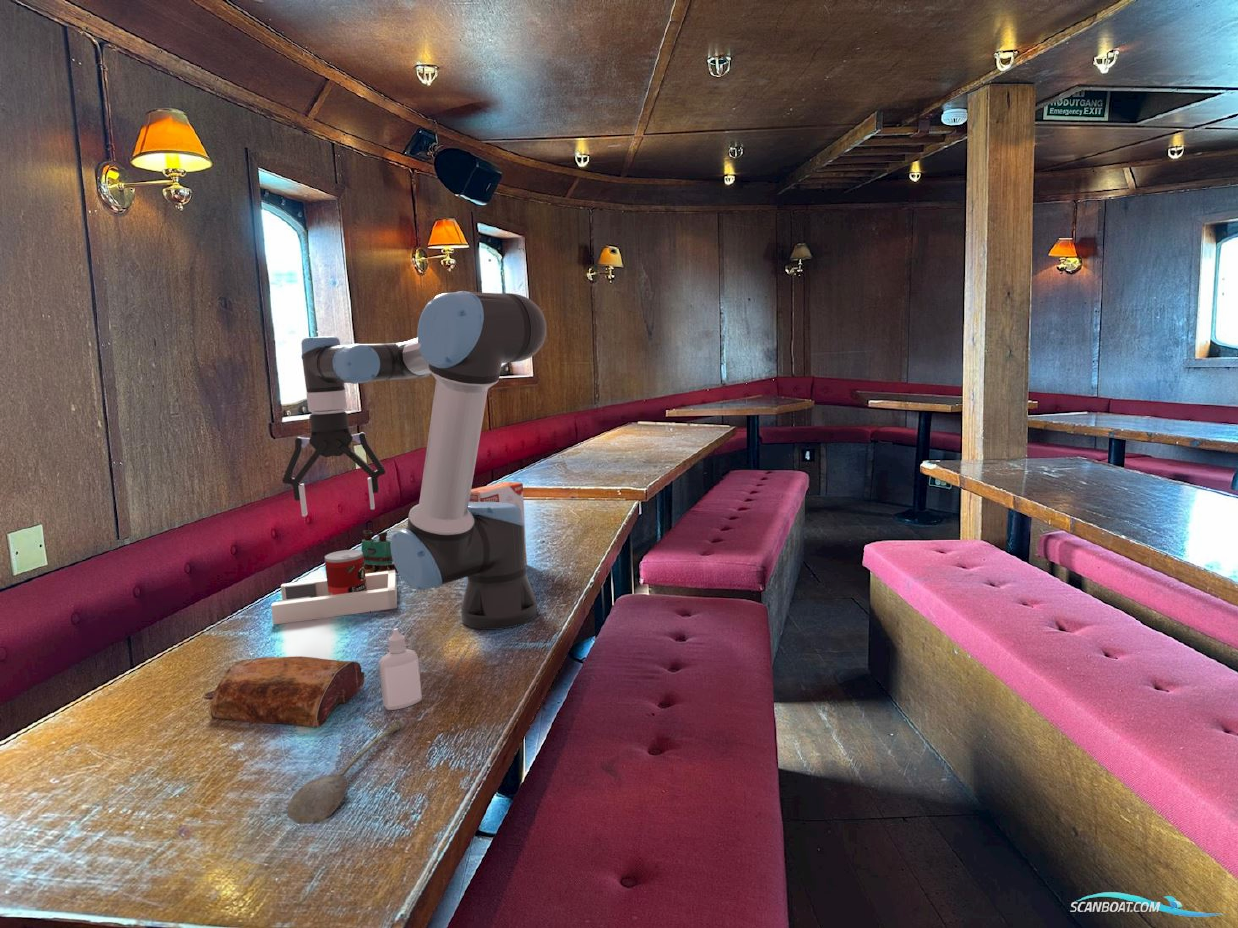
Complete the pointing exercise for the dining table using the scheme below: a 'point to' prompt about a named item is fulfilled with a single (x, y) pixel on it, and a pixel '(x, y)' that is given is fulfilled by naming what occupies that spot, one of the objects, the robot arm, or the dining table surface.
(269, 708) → the cured meat
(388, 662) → the eye dropper bottle
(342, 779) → the soupspoon
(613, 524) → the dining table surface
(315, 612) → the white rectangular tray
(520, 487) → the cracker box
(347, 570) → the canned food
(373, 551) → the binoculars
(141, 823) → the dining table surface
